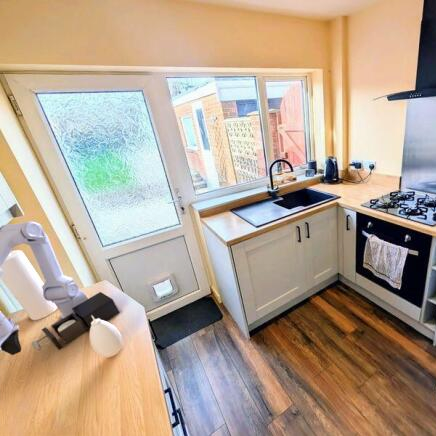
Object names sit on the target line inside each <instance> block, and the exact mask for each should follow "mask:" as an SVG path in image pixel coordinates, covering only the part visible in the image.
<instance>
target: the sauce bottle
mask: <svg viewBox="0 0 436 436" xmlns="http://www.w3.org/2000/svg"><path fill="white" fill-rule="evenodd" d="M92 318H93V321H92V322H91V328H90V330H89V343H90V345H91V348H92V349H93V351H94V352H95V353H96V354H97V355H98V356H100V357H103V358H111V357H114V356H115V355H117V354H118V353H119V352H120V351H121V349H122V347H123V338H122V337H123V336H122V335H121V332H120V331H119V329H118V328H117V327H116V326H115V325H114V324H112V323H111V322H109V321H104V320H100V319H95V318H94V317H93V316H92Z"/></svg>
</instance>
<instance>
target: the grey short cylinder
mask: <svg viewBox="0 0 436 436" xmlns="http://www.w3.org/2000/svg"><path fill="white" fill-rule="evenodd" d="M74 322H76V321H75V320H70V321H67V322H65V323H63V324H62V325H61V326H60V327H59V328H58V331H59V332H60V331H62V330H63V329H65V328H66V327H68V326H70V325H71V324H73V323H74Z"/></svg>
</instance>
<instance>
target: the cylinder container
mask: <svg viewBox="0 0 436 436" xmlns="http://www.w3.org/2000/svg"><path fill="white" fill-rule="evenodd" d="M0 268H1V270H2V271H3V274H2V276H1V278H0V280H1V281H2V283H3V284H4V285H5V287H6V288H7V289H8V290H9V292H10V293H11V295H12V296H13V297H14V298H15V300H16V301H17V303H18V304H19V305H20V306H21V308H22V309H23V311H24V312H25V313H26V314H27V316H28V317H29V319H30V320H32V321H38V320H41V319H43V318H46V317H48V316H50V315H51V314H53V313H54V312H55V311H57V309H58V308H57V306H56V305H55V303H52V301H47V300H45V299H44V297H43V288H42V286H43V284H44V283H45V282H44V281H43V280H42V279H41V277H40V276H39V274H38V272H37V271H36V270H35V268H34V266H33V265H32V264H31V262H30V260H29V259H28V257H27V256H26V255H25V253H24V251H23V250H21V249H15V250H12V251H11V252H10V254H9V255H8V257H7V258H6V260H5V261H4V263H3V264H2V266H1V267H0Z"/></svg>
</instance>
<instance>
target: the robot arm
mask: <svg viewBox="0 0 436 436" xmlns="http://www.w3.org/2000/svg"><path fill="white" fill-rule="evenodd" d="M20 245H27V246H29V247H30V249H31V252H32V253H33V255H34V258H35V261H36V262H37V263H36V264H37V265H38V267H39V269H40V272H41V273H42V276H43V278H44V280H45V281H44V282H43V283H44V284H43V286H42V288H43V297H44V299H45V300H47V301H52V303H55V305H56V306H57V309H58V311H59V313H60V314H61V315H60V319H63V318H65V317H66V316H68V315H70V314H71V313H74V312H73V310H72V308H74V307H75V306H77V305H79V304H80V303H82V302H84V301H86V300H87V299H89V298H88V297H87V295H86V293H85V292H84V291H82V289H79V285H78V284H77V283H76V282H75V280H74V278H73V277H70V276H67V275H64V273H63V270H62V267H61V265H60V263H59V261H58V258H57V255H56V254H55V251H54V248H53V246H52V243H51V241H50V239H49V236H48V234H46V232H45V230H44V227H43V226H42V224H41V223H38V222H36V221H26V222H19V223H13V224H12V223H11V224H3V225H1V226H0V267H1V266H2V264H3V263H4V261H5V260H6V258H7V257H8V255H9V254H10V252H11V251H13V249H14V248H16V247H17V246H20ZM2 274H3V271H2V270H1V268H0V279H1V276H2ZM74 314H75V313H74ZM15 322H16V320H14V318H12V317H9V318H7V317H6V315H4V313H3V312H2V311H1V310H0V352H1V351H3V352H5V353H7V354H9V355H10V356H14V355H17V354H18V353H21V351H22V346H21V343H20V337H19V331H20V330H19V328H20V325H19V324H15ZM14 324H15V325H14Z"/></svg>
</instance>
